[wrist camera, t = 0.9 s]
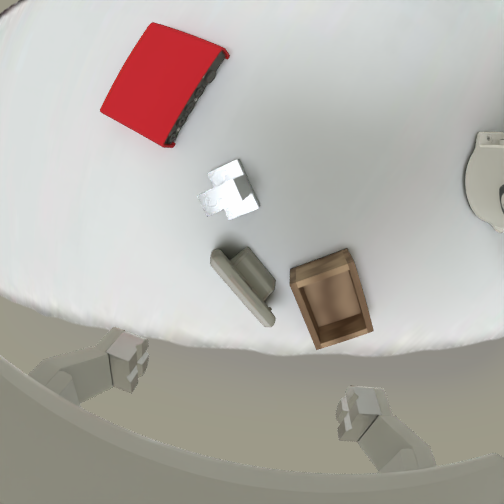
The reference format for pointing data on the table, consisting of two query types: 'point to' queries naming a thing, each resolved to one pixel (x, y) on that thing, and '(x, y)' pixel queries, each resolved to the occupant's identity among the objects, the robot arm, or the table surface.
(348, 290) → the wooden box
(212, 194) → the bracket
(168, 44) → the red device housing
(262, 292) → the digital clock
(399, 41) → the table surface
